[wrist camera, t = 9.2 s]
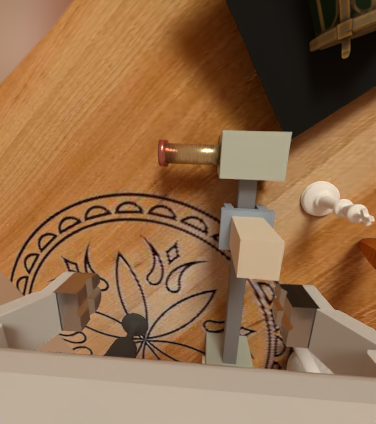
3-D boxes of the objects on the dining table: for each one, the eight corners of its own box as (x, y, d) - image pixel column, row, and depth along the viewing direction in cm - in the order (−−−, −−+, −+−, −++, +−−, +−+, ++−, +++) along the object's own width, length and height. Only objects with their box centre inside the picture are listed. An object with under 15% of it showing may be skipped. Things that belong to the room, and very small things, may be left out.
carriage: (266, 205, 27) (301, 235, 17) (261, 240, 29) (291, 288, 18) (220, 202, 28) (226, 230, 18) (217, 237, 29) (222, 283, 19)
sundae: (151, 341, 39) (118, 450, 25) (117, 335, 40) (64, 438, 25) (154, 312, 37) (121, 411, 23) (118, 306, 38) (63, 399, 23)
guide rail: (272, 137, 28) (292, 131, 21) (243, 358, 38) (251, 401, 31) (215, 136, 29) (217, 130, 22) (201, 353, 39) (200, 395, 32)
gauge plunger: (239, 142, 26) (244, 140, 23) (237, 168, 27) (241, 170, 24) (163, 140, 27) (157, 138, 24) (163, 165, 28) (157, 167, 25)
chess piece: (305, 220, 31) (350, 249, 21) (296, 189, 30) (338, 205, 20) (341, 208, 30) (404, 233, 20) (332, 175, 29) (395, 186, 19)
